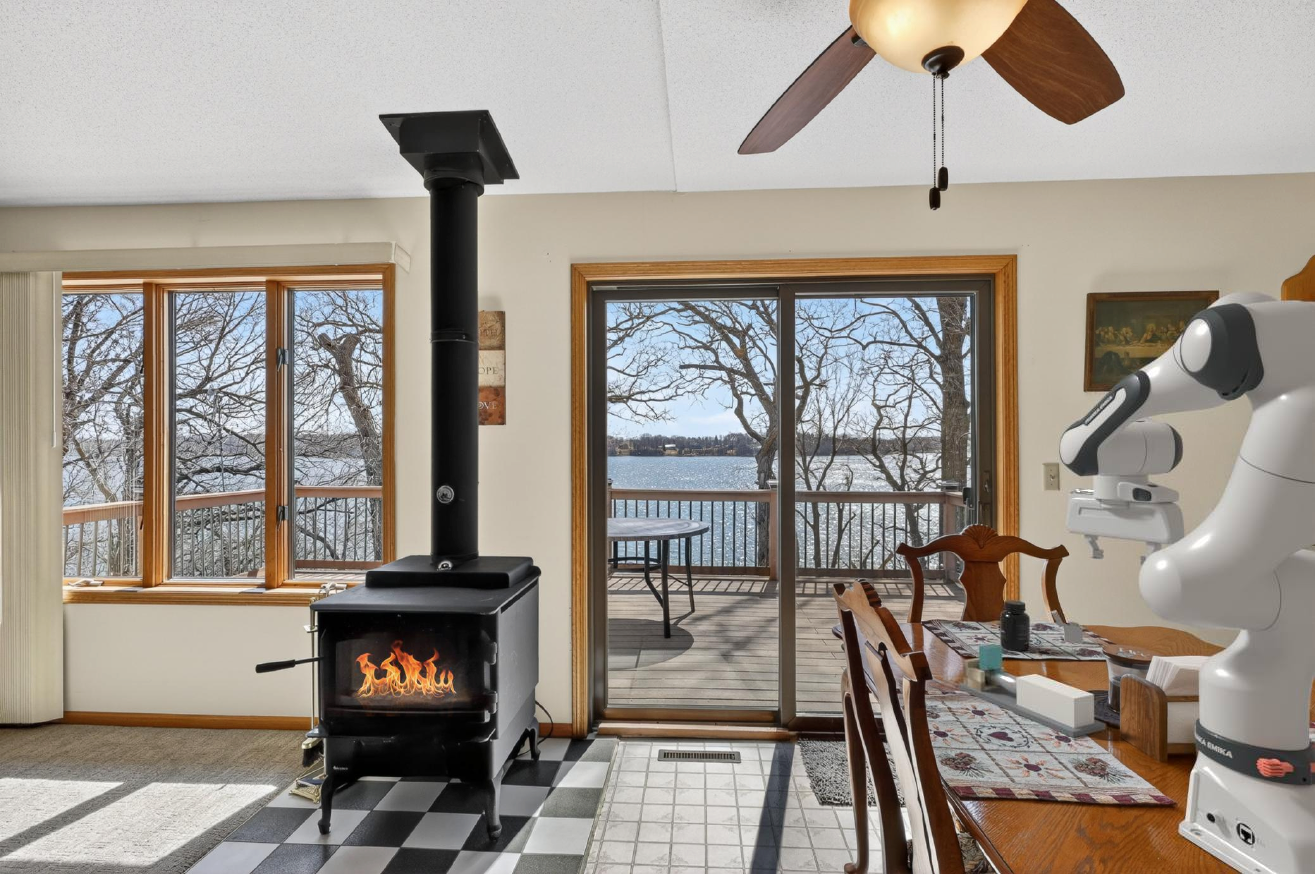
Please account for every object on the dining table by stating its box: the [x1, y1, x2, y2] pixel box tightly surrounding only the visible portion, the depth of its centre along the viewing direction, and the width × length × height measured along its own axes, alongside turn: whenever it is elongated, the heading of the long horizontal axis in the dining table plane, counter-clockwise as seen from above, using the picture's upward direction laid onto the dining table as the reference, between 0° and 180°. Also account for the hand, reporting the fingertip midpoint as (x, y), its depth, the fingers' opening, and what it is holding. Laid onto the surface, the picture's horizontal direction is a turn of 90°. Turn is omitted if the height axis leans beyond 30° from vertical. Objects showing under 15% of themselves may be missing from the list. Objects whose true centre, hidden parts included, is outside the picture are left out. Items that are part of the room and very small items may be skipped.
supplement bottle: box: [999, 599, 1031, 653], centre depth 172 cm, size 7×7×12 cm
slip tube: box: [977, 643, 1018, 694], centre depth 136 cm, size 15×4×8 cm, turn 22°
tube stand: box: [957, 673, 1107, 738], centre depth 133 cm, size 26×9×6 cm, turn 22°
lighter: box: [1050, 609, 1084, 644], centre depth 178 cm, size 7×2×8 cm, turn 63°
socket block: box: [962, 657, 1005, 691], centre depth 143 cm, size 4×7×5 cm, turn 112°
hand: (1121, 562), depth 127 cm, fingers open, 8 cm apart
